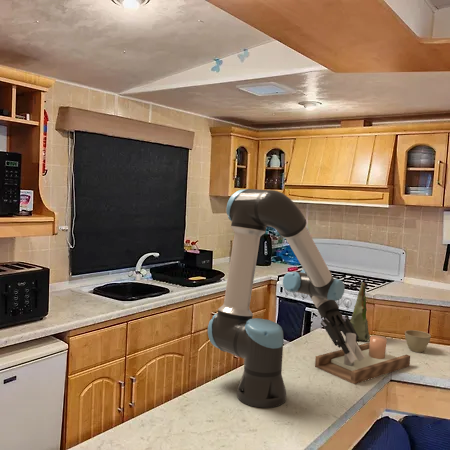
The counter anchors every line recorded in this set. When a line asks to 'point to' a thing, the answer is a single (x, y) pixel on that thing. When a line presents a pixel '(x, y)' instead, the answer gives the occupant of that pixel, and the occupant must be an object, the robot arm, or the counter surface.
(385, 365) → the tray
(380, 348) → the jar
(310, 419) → the counter surface
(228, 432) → the counter surface
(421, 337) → the flower pot
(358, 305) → the olive tapered piece
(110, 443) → the counter surface
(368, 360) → the cream flat panel
